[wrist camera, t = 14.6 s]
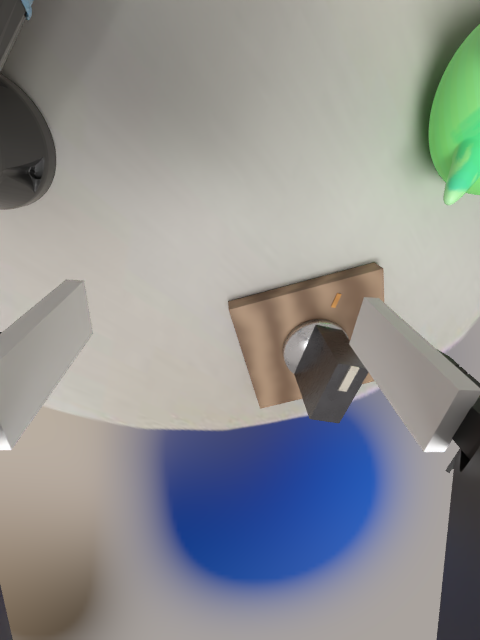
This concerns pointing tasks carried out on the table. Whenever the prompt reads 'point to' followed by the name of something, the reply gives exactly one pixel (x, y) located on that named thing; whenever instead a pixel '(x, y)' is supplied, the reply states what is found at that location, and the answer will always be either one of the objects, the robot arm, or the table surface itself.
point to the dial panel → (297, 323)
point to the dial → (324, 368)
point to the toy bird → (458, 122)
